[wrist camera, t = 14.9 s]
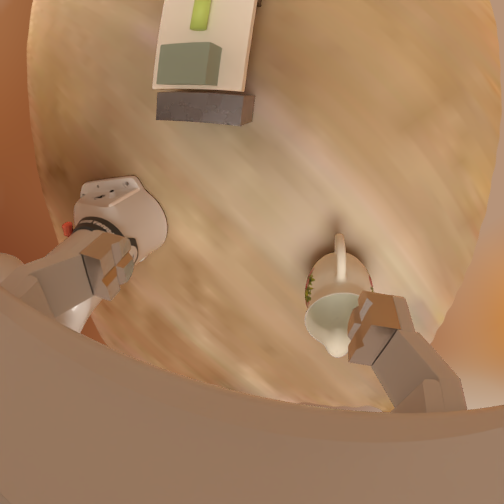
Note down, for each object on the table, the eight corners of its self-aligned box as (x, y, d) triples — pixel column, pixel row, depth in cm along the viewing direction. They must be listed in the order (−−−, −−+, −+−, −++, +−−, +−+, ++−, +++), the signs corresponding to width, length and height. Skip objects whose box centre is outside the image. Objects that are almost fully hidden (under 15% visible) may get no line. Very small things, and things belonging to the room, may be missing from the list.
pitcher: (369, 215, 41) (387, 263, 30) (364, 300, 50) (370, 356, 39) (303, 217, 44) (297, 265, 33) (309, 302, 53) (303, 357, 42)
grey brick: (178, 114, 39) (156, 119, 33) (195, -21, 25) (176, -35, 19) (252, 121, 37) (240, 126, 32) (272, -23, 24) (263, -42, 18)
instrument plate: (244, 92, 29) (202, 86, 18) (157, 89, 30) (89, 92, 19) (264, -38, 19) (237, -91, 7) (177, -31, 20) (123, -66, 9)
